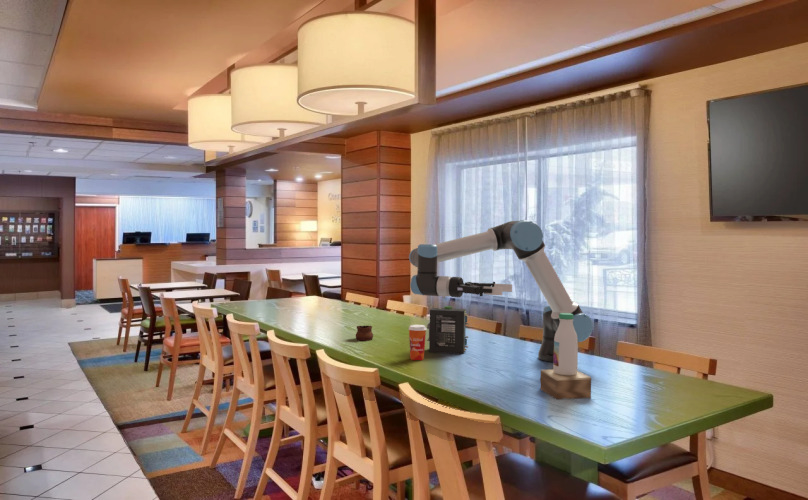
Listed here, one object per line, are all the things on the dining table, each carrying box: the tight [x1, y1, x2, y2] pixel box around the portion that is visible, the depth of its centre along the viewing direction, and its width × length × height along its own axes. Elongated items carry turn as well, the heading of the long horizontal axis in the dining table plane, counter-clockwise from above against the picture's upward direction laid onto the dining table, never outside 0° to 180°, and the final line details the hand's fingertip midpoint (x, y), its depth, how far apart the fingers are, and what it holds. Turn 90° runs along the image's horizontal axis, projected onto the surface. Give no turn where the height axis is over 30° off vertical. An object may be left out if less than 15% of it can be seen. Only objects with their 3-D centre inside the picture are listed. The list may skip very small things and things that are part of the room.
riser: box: [540, 368, 592, 400], centre depth 188 cm, size 12×12×7 cm
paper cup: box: [408, 324, 427, 361], centre depth 236 cm, size 8×8×14 cm
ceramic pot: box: [349, 325, 374, 343], centre depth 279 cm, size 18×18×7 cm
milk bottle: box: [552, 313, 579, 376], centre depth 188 cm, size 8×8×20 cm
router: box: [426, 305, 470, 355], centre depth 253 cm, size 8×18×20 cm, turn 78°
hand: (507, 289), depth 201 cm, fingers open, 13 cm apart
